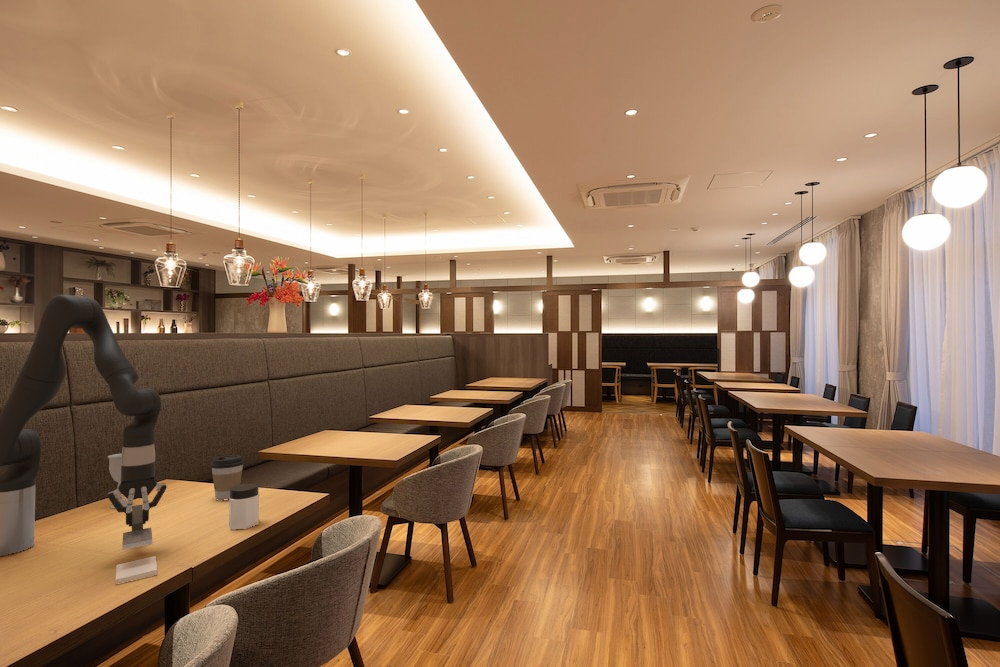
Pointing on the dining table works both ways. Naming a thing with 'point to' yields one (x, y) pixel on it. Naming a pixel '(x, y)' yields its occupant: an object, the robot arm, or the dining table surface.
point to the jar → (243, 506)
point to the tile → (136, 569)
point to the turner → (137, 531)
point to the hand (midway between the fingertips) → (137, 524)
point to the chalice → (116, 474)
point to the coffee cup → (226, 474)
